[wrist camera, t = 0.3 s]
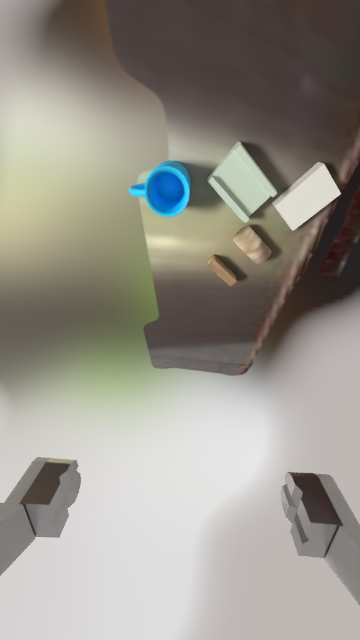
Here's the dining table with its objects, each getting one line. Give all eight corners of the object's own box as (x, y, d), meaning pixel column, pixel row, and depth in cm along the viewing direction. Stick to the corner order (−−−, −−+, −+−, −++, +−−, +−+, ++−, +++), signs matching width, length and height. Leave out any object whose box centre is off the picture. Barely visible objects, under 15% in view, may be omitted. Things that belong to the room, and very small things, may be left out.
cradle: (238, 141, 42) (241, 142, 39) (273, 187, 47) (278, 192, 43) (206, 178, 46) (207, 182, 43) (241, 217, 51) (244, 224, 47)
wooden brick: (214, 254, 57) (214, 260, 54) (235, 274, 60) (236, 281, 57) (208, 259, 58) (208, 266, 55) (229, 279, 61) (230, 286, 58)
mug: (190, 159, 45) (188, 164, 38) (191, 204, 50) (190, 216, 44) (130, 163, 46) (119, 169, 40) (137, 207, 51) (128, 218, 45)
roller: (247, 222, 52) (251, 229, 48) (268, 246, 55) (273, 254, 51) (232, 237, 54) (234, 244, 51) (253, 259, 57) (256, 267, 54)
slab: (317, 161, 44) (323, 163, 42) (334, 190, 47) (341, 193, 44) (271, 202, 49) (274, 206, 47) (288, 226, 52) (292, 231, 50)
